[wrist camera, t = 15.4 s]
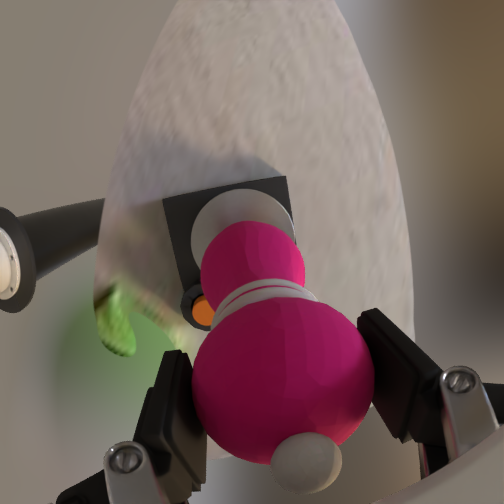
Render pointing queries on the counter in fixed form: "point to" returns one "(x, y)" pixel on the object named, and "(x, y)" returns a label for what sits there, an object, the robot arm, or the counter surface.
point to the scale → (181, 223)
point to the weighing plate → (236, 216)
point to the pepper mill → (277, 361)
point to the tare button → (202, 311)
